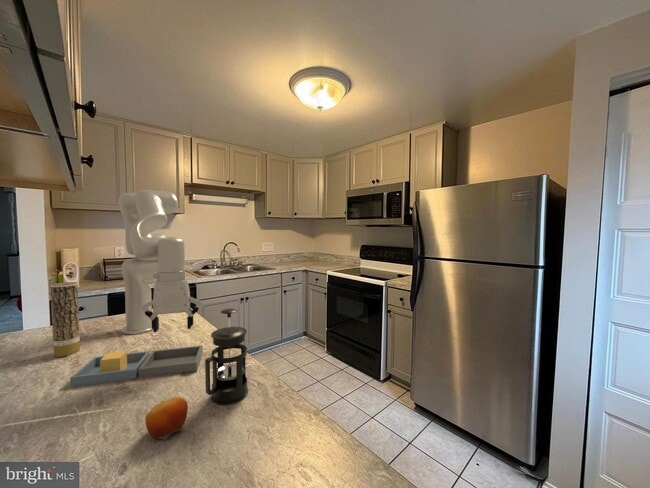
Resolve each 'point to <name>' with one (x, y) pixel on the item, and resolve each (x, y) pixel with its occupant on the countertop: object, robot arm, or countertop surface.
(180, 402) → the fruit
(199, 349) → the charcoal tray
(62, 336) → the paper tube
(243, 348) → the french press
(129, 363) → the slate-blue tray
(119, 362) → the ochre block
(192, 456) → the countertop surface
